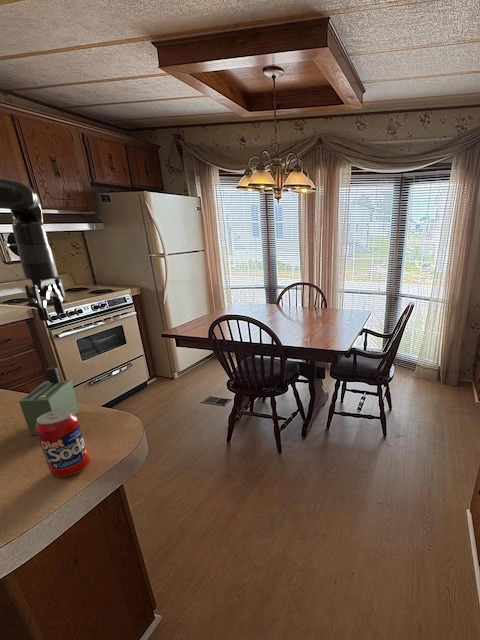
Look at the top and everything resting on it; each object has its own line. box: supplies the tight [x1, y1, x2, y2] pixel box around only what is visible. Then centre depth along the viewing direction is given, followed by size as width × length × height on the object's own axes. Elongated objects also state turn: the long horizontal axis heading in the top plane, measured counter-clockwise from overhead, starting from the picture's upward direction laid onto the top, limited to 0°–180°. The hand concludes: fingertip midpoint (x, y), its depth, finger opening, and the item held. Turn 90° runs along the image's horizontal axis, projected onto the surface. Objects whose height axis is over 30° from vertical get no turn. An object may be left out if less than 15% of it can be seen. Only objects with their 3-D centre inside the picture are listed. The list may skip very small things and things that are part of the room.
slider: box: [45, 366, 62, 383], centre depth 102 cm, size 2×2×4 cm
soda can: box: [35, 409, 90, 478], centre depth 81 cm, size 8×8×15 cm
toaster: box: [18, 379, 81, 436], centre depth 100 cm, size 13×7×11 cm, turn 11°
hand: (53, 316), depth 103 cm, fingers open, 8 cm apart
